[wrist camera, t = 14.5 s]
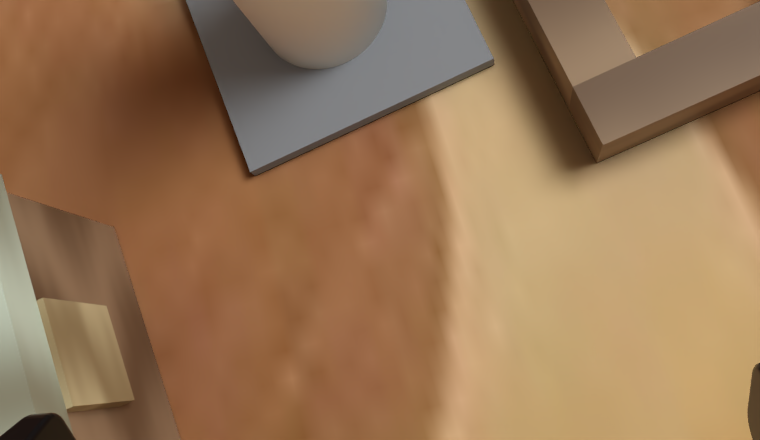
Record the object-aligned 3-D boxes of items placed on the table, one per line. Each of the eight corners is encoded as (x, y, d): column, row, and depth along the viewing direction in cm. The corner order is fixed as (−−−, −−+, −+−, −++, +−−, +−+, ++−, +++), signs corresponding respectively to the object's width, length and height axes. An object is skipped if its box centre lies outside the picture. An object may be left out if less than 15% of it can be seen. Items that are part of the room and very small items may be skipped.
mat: (494, 64, 24) (493, 58, 24) (255, 175, 25) (249, 172, 25) (392, -142, 26) (390, -152, 26) (177, -33, 27) (170, -40, 27)
